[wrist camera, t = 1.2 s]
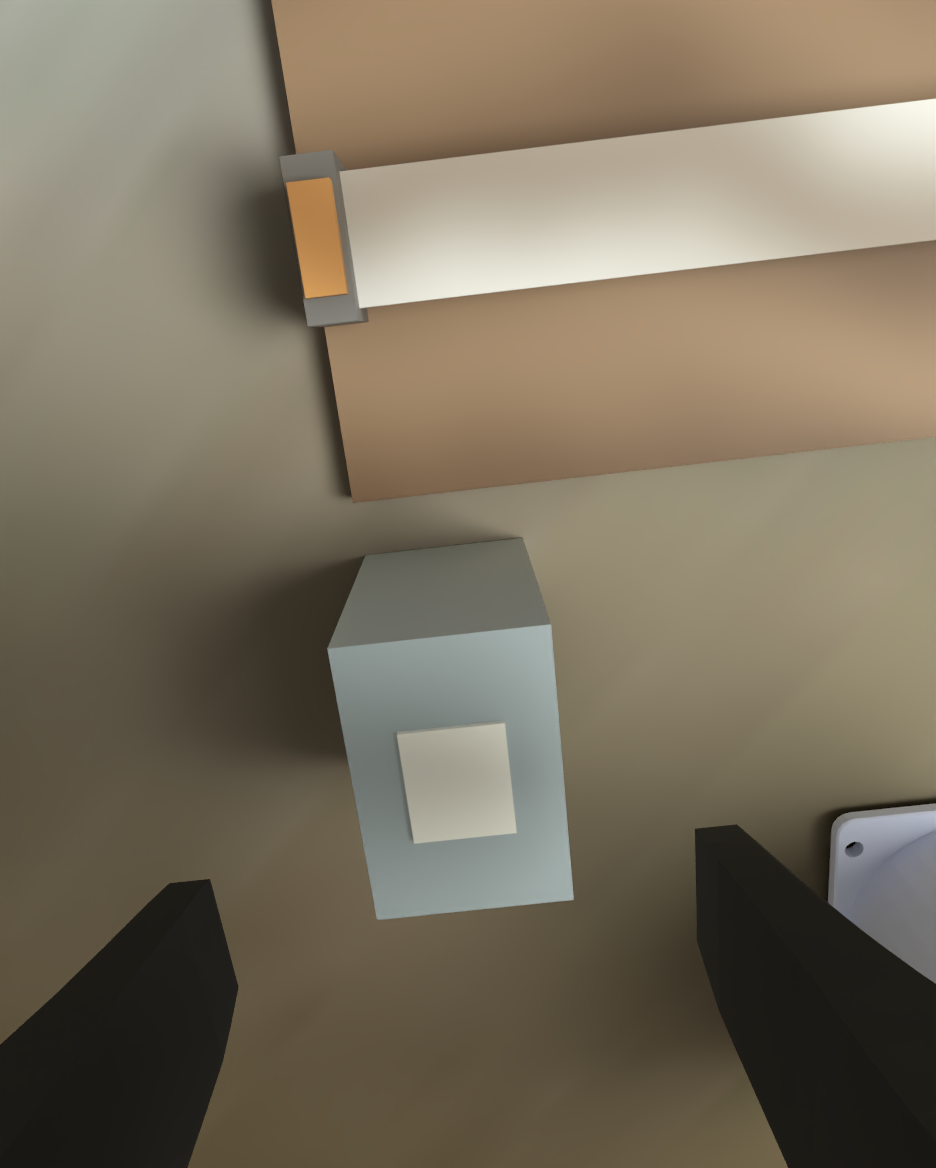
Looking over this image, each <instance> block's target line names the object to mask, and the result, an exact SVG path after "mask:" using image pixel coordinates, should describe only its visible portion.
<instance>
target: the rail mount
mask: <svg viewBox="0 0 936 1168" xmlns="http://www.w3.org/2000/svg"><path fill="white" fill-rule="evenodd" d="M271 2H272V8H273V14H274V20H275V26H276V33H277V39H278V45H279V51H280V57H281V63H282V70H283V76H284V82H285V88H286V94H287V100H288V107H289V113H290V119H291V125H292V131H293V137H294V143H295V150H296V154H295V155H287V156H279V159H280V165H281V171H282V177H283V183H284V189H285V195H286V201H287V207H288V213H289V219H290V225H291V230H292V236H293V242H294V248H295V254H296V260H297V266H298V272H299V278H300V284H301V290H302V296H303V302H304V308H305V313H306V319H307V325H308V326H309V327H324V328H325V335H326V341H327V347H328V353H329V359H330V365H331V372H332V378H333V384H334V390H335V396H336V402H337V408H338V415H339V421H340V427H341V433H342V439H343V445H344V452H345V458H346V464H347V470H348V476H349V482H350V489H351V495H352V501H353V503H355V502H364V501H373V500H382V499H391V498H399V497H408V496H417V495H426V494H435V493H444V492H452V491H461V490H470V489H479V488H488V487H496V486H505V485H514V484H523V483H532V482H541V481H549V480H558V479H567V478H576V477H585V476H593V475H602V474H611V473H620V472H629V471H638V470H646V469H655V468H664V467H673V466H682V465H690V464H699V463H708V462H717V461H726V460H734V459H743V458H752V457H761V456H770V455H779V454H787V453H796V452H805V451H814V450H823V449H831V448H840V447H849V446H858V445H867V444H876V443H884V442H893V441H902V440H911V439H920V438H928V437H936V0H271Z"/></svg>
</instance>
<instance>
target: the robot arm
mask: <svg viewBox="0 0 936 1168" xmlns="http://www.w3.org/2000/svg"><path fill="white" fill-rule="evenodd" d="M852 842H856V843H855V845H853V846H852V847H850V848H847V849H846V846H847V845H849V844H850V843H852ZM695 850H696V901H697V941H698V945H699V948H700V951H701V954H702V958H703V961H704V964H705V967H706V971H707V974H708V977H709V980H710V983H711V986H712V990H713V993H714V996H715V999H716V1002H717V1005H718V1008H719V1011H720V1013H721V1016H722V1018H723V1020H724V1023H725V1025H726V1027H727V1030H728V1032H729V1034H730V1037H731V1039H732V1041H733V1043H734V1046H735V1048H736V1050H737V1053H738V1055H739V1057H740V1059H741V1062H742V1064H743V1066H744V1069H745V1071H746V1073H747V1075H748V1078H749V1080H750V1082H751V1084H752V1087H753V1089H754V1091H755V1093H756V1096H757V1098H758V1100H759V1103H760V1105H761V1107H762V1109H763V1112H764V1114H765V1116H766V1118H767V1121H768V1123H769V1125H770V1127H771V1130H772V1132H773V1134H774V1136H775V1139H776V1141H777V1143H778V1145H779V1148H780V1150H781V1152H782V1154H783V1157H784V1159H785V1161H786V1163H787V1166H788V1168H936V803H935V804H926V805H916V806H906V807H897V808H887V809H877V810H868V811H858V812H849V813H846V814H843V815H841V816H839V817H838V818H837V819H836V820H835V821H834V823H833V825H832V829H831V849H830V871H829V893H828V902H827V901H825V900H824V899H823V898H822V897H820V896H819V895H818V894H817V893H816V892H814V891H813V890H812V889H811V888H810V887H808V886H807V885H806V884H805V883H804V882H803V881H801V880H800V879H799V878H798V877H797V876H796V875H795V874H793V873H792V872H791V871H790V870H789V869H788V868H786V867H785V866H784V865H783V864H782V863H781V862H779V861H778V860H777V859H776V858H775V857H774V856H773V855H771V854H770V853H769V852H768V851H767V850H766V849H765V848H764V847H762V846H761V845H760V844H759V843H758V842H757V841H756V840H754V839H753V838H752V837H751V836H750V835H749V834H747V833H746V832H745V831H744V830H743V829H742V828H740V827H739V826H738V825H728V826H718V827H708V828H699V829H695ZM237 991H238V984H237V980H236V976H235V972H234V968H233V965H232V961H231V957H230V953H229V949H228V946H227V942H226V938H225V934H224V931H223V927H222V923H221V919H220V915H219V912H218V908H217V904H216V900H215V896H214V893H213V889H212V885H211V881H210V879H207V880H197V881H187V882H178V883H170V884H168V885H167V886H166V887H165V888H164V889H163V890H162V891H161V892H160V893H159V894H157V895H156V896H155V897H154V898H153V899H152V900H151V901H150V902H149V903H148V904H147V905H146V906H145V907H144V908H143V909H142V910H141V911H140V912H139V913H138V914H137V915H136V916H135V917H134V918H133V919H132V920H131V921H130V922H129V923H128V924H127V925H126V926H125V927H124V928H123V929H122V930H121V931H120V932H119V933H118V934H117V935H116V936H115V937H114V938H113V939H112V940H111V941H110V942H109V943H108V944H107V945H106V946H105V947H104V948H103V949H102V950H101V951H100V952H99V953H98V954H97V955H96V956H95V957H94V958H93V959H92V960H90V961H89V962H88V963H87V964H86V965H85V966H84V967H83V968H82V969H81V970H80V971H79V972H78V973H77V974H76V975H75V976H74V977H73V978H72V979H71V980H70V981H69V982H68V983H67V984H66V985H65V986H64V987H63V988H62V989H61V990H60V991H59V992H58V993H57V994H56V995H54V996H53V997H52V998H51V999H50V1000H49V1001H48V1002H47V1003H46V1004H45V1005H44V1006H42V1007H41V1008H40V1009H39V1010H38V1011H37V1012H36V1013H35V1014H34V1015H33V1016H31V1017H30V1018H29V1019H28V1020H27V1021H26V1022H25V1023H24V1024H23V1025H22V1026H20V1027H19V1028H18V1029H17V1030H16V1031H15V1032H14V1033H13V1034H12V1035H11V1036H9V1037H8V1038H7V1039H6V1040H5V1041H4V1042H3V1043H2V1044H1V1045H0V1168H187V1167H188V1164H189V1161H190V1158H191V1155H192V1152H193V1149H194V1146H195V1143H196V1140H197V1137H198V1134H199V1132H200V1129H201V1126H202V1123H203V1120H204V1117H205V1114H206V1111H207V1108H208V1105H209V1102H210V1099H211V1096H212V1093H213V1089H214V1086H215V1083H216V1080H217V1077H218V1074H219V1071H220V1068H221V1065H222V1062H223V1058H224V1054H225V1049H226V1045H227V1040H228V1036H229V1031H230V1027H231V1022H232V1017H233V1012H234V1007H235V1002H236V996H237Z"/></svg>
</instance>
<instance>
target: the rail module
mask: <svg viewBox="0 0 936 1168" xmlns="http://www.w3.org/2000/svg"><path fill="white" fill-rule="evenodd" d="M327 650H328V655H329V661H330V666H331V672H332V677H333V682H334V688H335V693H336V699H337V704H338V710H339V715H340V720H341V726H342V731H343V737H344V742H345V748H346V753H347V758H348V764H349V769H350V775H351V780H352V786H353V791H354V796H355V802H356V807H357V813H358V818H359V823H360V829H361V834H362V840H363V845H364V851H365V856H366V861H367V867H368V872H369V878H370V883H371V889H372V894H373V899H374V905H375V910H376V916H377V920H381V919H391V918H401V917H411V916H420V915H430V914H440V913H450V912H460V911H469V910H479V909H489V908H499V907H509V906H518V905H528V904H538V903H548V902H558V901H567V900H574V896H573V884H572V872H571V860H570V848H569V836H568V824H567V812H566V800H565V788H564V776H563V764H562V751H561V739H560V727H559V715H558V703H557V691H556V679H555V667H554V655H553V643H552V631H551V623H550V620H549V617H548V614H547V611H546V608H545V605H544V602H543V598H542V595H541V592H540V589H539V586H538V583H537V580H536V577H535V574H534V571H533V568H532V565H531V562H530V559H529V556H528V553H527V550H526V547H525V544H524V541H523V538H516V539H507V540H498V541H489V542H480V543H471V544H463V545H454V546H445V547H436V548H427V549H418V550H409V551H400V552H391V553H382V554H373V555H365V558H364V560H363V562H362V565H361V567H360V570H359V572H358V575H357V577H356V580H355V582H354V585H353V587H352V589H351V592H350V594H349V597H348V599H347V602H346V604H345V607H344V609H343V612H342V614H341V616H340V619H339V621H338V624H337V626H336V629H335V631H334V634H333V636H332V639H331V641H330V643H329V646H328V648H327Z"/></svg>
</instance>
